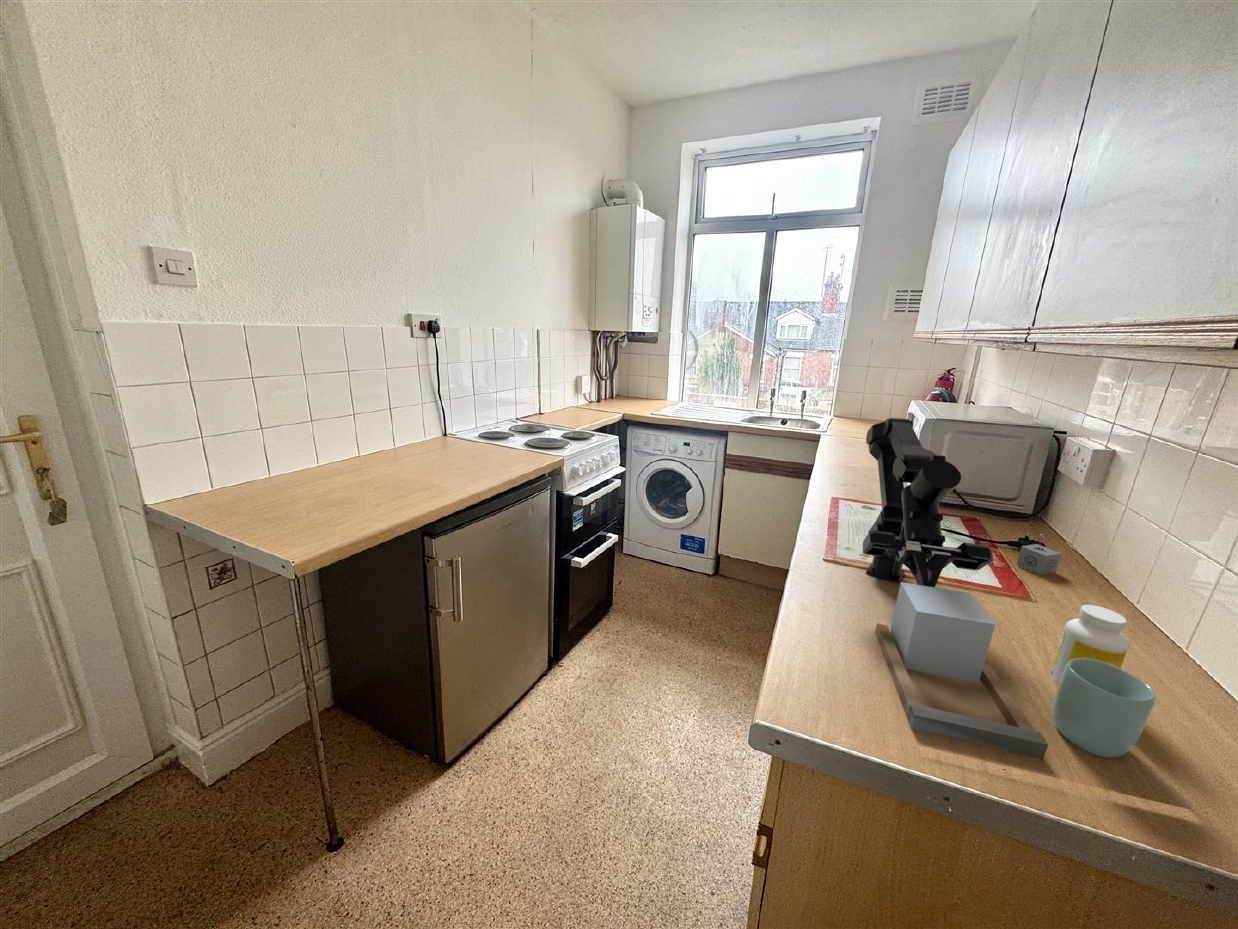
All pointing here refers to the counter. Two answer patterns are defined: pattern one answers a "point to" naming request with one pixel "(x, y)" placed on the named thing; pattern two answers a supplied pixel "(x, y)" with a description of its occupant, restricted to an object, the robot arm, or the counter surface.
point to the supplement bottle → (1091, 639)
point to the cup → (1101, 707)
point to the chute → (961, 706)
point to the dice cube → (1038, 559)
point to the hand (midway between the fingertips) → (927, 597)
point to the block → (941, 631)
